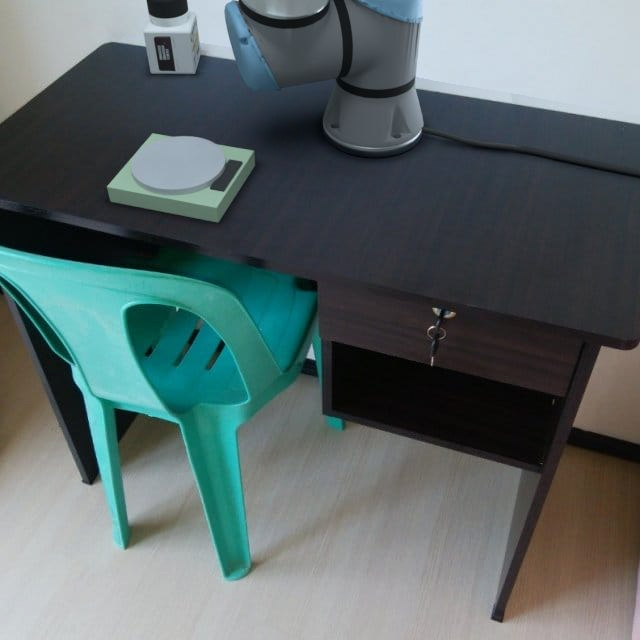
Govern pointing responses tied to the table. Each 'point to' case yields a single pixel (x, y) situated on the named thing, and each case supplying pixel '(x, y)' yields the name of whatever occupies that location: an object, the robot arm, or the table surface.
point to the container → (171, 37)
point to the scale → (183, 176)
